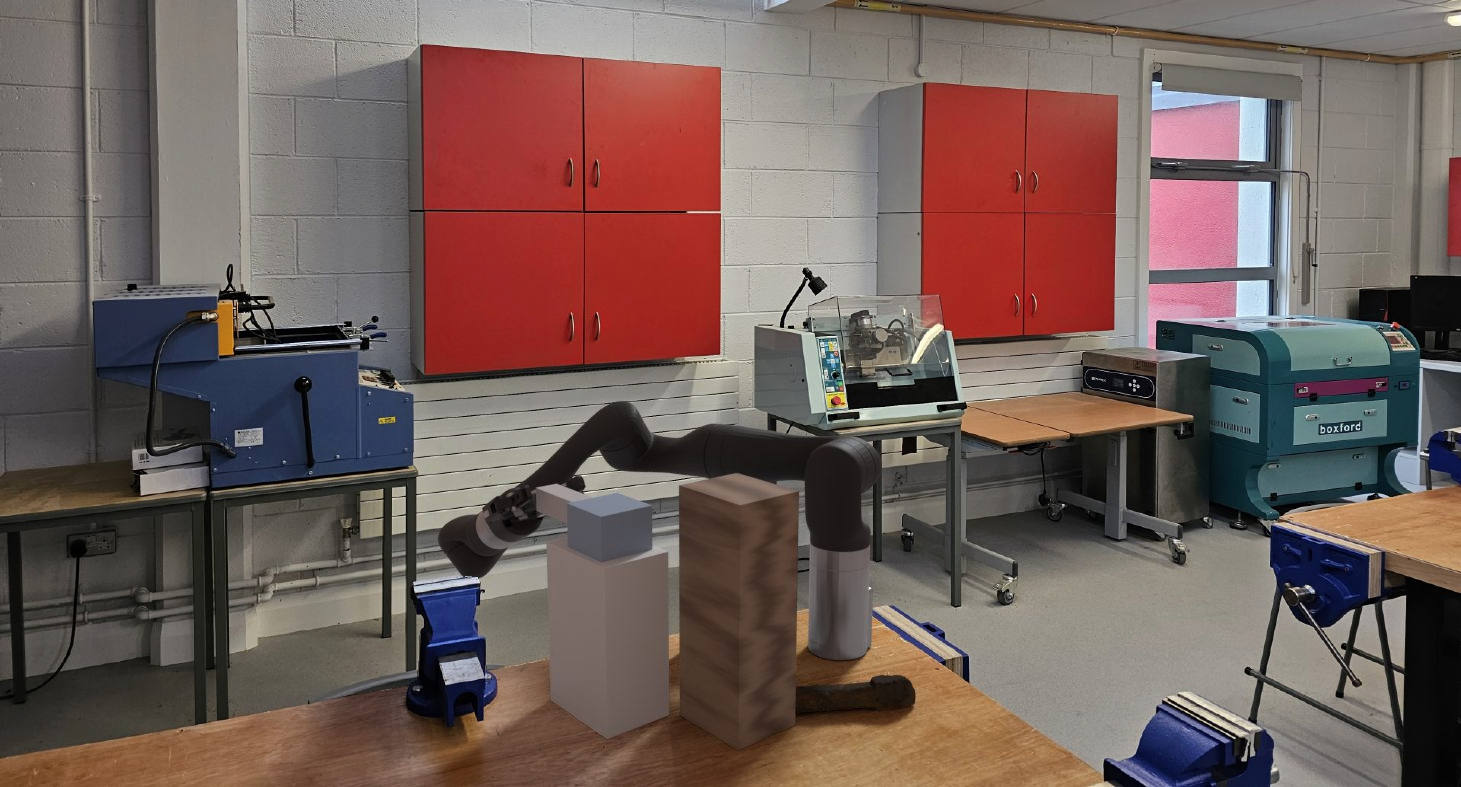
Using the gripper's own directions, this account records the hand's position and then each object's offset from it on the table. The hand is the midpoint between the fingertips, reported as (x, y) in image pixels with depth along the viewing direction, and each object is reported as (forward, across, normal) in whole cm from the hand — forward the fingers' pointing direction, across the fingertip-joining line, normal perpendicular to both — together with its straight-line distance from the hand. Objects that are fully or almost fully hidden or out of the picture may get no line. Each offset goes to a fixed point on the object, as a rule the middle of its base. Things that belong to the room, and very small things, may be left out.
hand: (555, 486), depth 143 cm
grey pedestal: (-3, 0, +31) cm, 31 cm away
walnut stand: (+9, +11, +38) cm, 41 cm away
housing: (+4, 0, +9) cm, 9 cm away
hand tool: (+14, +25, +42) cm, 51 cm away
